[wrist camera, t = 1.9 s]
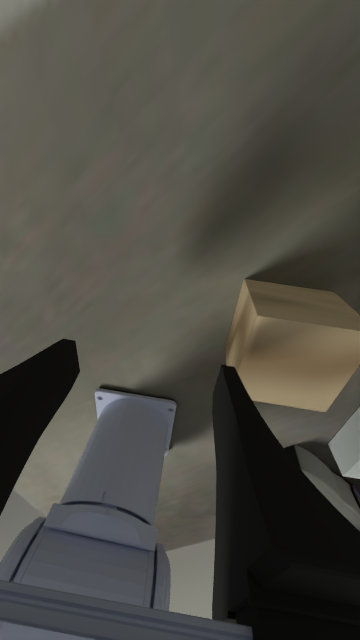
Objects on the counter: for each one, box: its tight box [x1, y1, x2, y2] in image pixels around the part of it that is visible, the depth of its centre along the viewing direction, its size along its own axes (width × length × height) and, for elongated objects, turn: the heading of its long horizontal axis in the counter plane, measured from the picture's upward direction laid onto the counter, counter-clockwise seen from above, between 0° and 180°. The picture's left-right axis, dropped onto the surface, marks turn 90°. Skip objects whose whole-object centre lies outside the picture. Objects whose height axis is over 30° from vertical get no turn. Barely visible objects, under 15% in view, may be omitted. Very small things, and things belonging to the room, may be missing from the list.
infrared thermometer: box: [284, 445, 360, 531], centre depth 27 cm, size 5×12×15 cm
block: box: [225, 279, 360, 412], centre depth 15 cm, size 6×6×5 cm
